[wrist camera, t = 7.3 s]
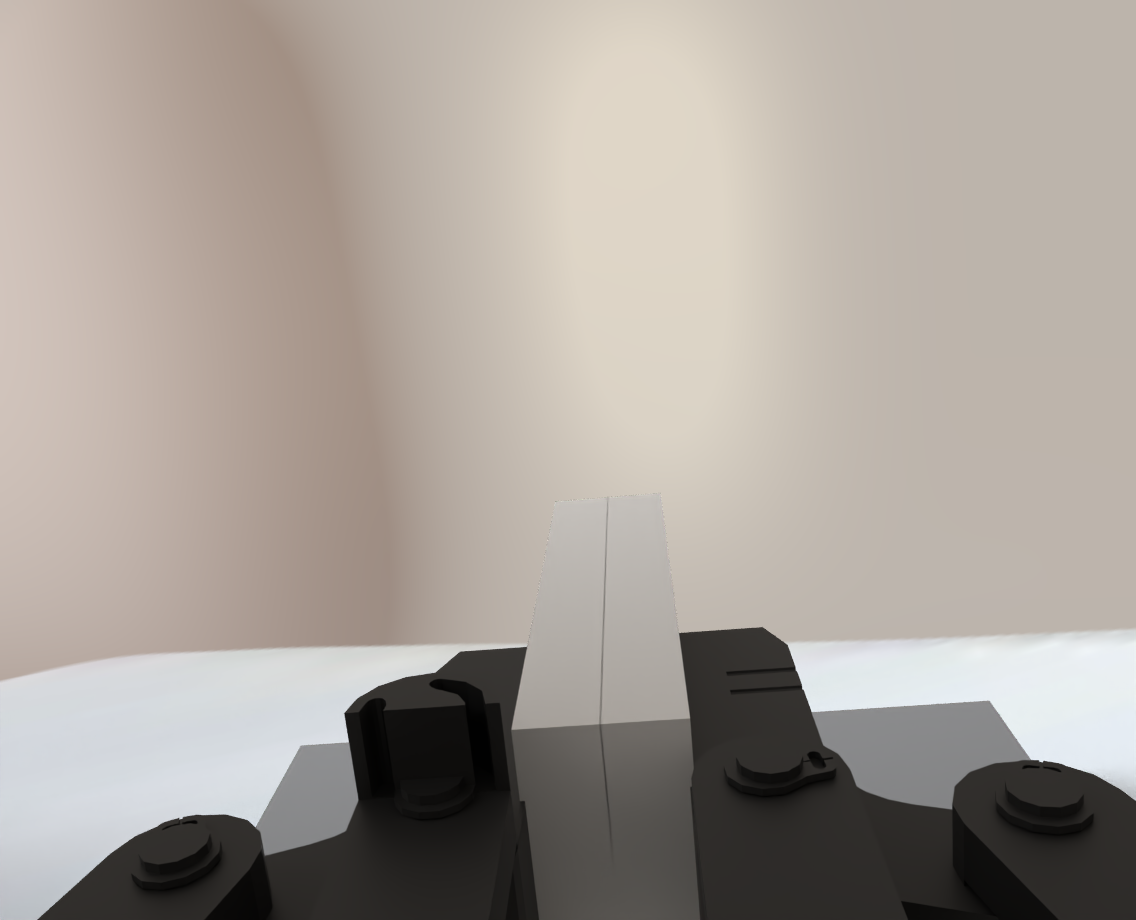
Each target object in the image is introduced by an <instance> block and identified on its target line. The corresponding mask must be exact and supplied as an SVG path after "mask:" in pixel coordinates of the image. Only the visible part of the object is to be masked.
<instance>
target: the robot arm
mask: <svg viewBox="0 0 1136 920" xmlns="http://www.w3.org/2000/svg"><path fill="white" fill-rule="evenodd" d="M344 714H345V720H346V727H347V733H348V739H349V745H350V751H351V757H352V764H353V770H354V776H355V782H356V788H357V794H358V802H357V805H356V807H355V810H354V812H353V815H352V817H351V819H350V822H349V824H348V827H347V829H346V831H345V832H343V833H340V834H338V835H336V836H334V837H331V838H328V839H325V840H322V841H319V842H315V843H312V844H309V845H305V846H301V847H297V848H293V849H289V850H285V851H281V852H277V853H273V854H270V855H266V856H265V854H264V849H263V843H262V838H261V833H260V831H259V830H258V829H257V828H255V827H254V826H253V825H252V824H251V823H250V822H249V821H248V820H245V819H241V818H237V817H233V816H229V815H193V816H187V817H183V819H180V820H179V818H177V819H174V820H170V821H167V822H164V823H162V824H160V825H159V826H158V827H155V828H153V829H151V830H149V831H146V832H144V833H142V834H140V835H137V836H135V837H134V838H132V839H131V840H129V841H128V842H127V843H125V844H124V845H122V846H121V847H119V848H118V849H117V850H115V851H114V852H112V853H111V854H110V855H108V856H107V857H106V858H105V859H104V860H103V861H102V862H101V863H100V864H99V865H97V866H96V867H95V868H94V869H93V870H92V871H91V872H90V873H89V874H87V875H86V876H85V877H84V878H83V879H82V880H81V881H80V882H79V883H77V884H76V885H75V886H74V887H73V888H72V889H71V890H70V891H69V892H68V893H66V894H65V895H64V896H63V897H62V898H61V899H60V900H59V901H58V902H56V903H55V904H54V905H53V906H52V907H51V908H50V909H49V910H48V911H46V912H45V913H44V914H43V915H42V916H41V917H40V918H39V919H38V920H1136V801H1135V800H1134V799H1132V798H1131V797H1130V796H1128V795H1127V794H1126V793H1124V792H1123V791H1122V790H1120V789H1119V788H1117V787H1115V786H1113V785H1111V784H1110V783H1108V782H1106V781H1104V780H1103V779H1101V778H1099V777H1097V776H1096V775H1094V774H1090V773H1087V772H1084V771H1081V770H1077V769H1074V768H1071V767H1067V766H1065V765H1063V764H1059V763H1054V762H1047V761H1043V762H1039V760H1020V761H1015V762H1003V763H994V764H991V765H988V766H985V767H982V768H980V769H977V770H974V771H971V772H969V773H968V774H967V775H966V776H965V777H964V778H963V779H962V780H960V781H959V782H958V783H957V784H956V785H955V787H954V794H953V802H952V809H945V808H938V807H930V806H922V805H915V804H909V803H904V802H899V801H894V800H889V799H886V798H883V797H880V796H877V795H874V794H872V793H869V792H866V791H864V790H862V789H860V788H859V787H857V786H856V783H855V780H854V778H853V775H852V773H851V770H850V768H849V767H848V766H847V764H846V763H845V762H844V760H843V759H842V758H841V757H840V755H839V754H838V753H836V752H834V751H832V750H831V749H829V748H827V747H825V746H823V743H822V740H821V737H820V734H819V732H818V729H817V726H816V723H815V720H814V718H813V715H812V712H811V709H810V706H809V704H808V701H807V698H806V695H805V692H804V690H802V684H801V681H800V678H799V676H798V673H797V671H796V669H795V665H794V662H793V659H792V656H791V653H790V651H789V648H788V645H787V644H785V643H784V642H783V641H781V640H780V639H778V638H777V637H776V636H774V635H773V634H771V633H770V632H768V631H767V630H766V629H764V628H763V627H760V628H745V629H731V630H716V631H702V632H689V633H679V630H678V622H677V615H676V608H675V599H674V593H673V585H672V577H671V569H670V562H669V554H668V546H667V539H666V531H665V523H664V515H663V508H662V500H661V493H656V494H643V495H631V496H617V497H605V498H592V499H580V500H568V501H556V502H555V506H554V511H553V516H552V521H551V526H550V532H549V537H548V542H547V548H546V552H545V558H544V563H543V568H542V573H541V578H540V583H539V589H538V594H537V599H536V604H535V609H534V615H533V620H532V625H531V630H530V635H529V641H528V646H527V647H521V648H507V649H492V650H478V651H464V652H459V653H458V654H457V655H456V656H455V657H453V658H452V659H451V660H450V661H449V662H448V663H446V664H445V665H444V666H443V667H442V668H440V669H439V670H438V671H437V672H436V673H430V674H424V675H417V676H411V677H405V678H402V679H399V680H396V681H393V682H390V683H387V684H384V685H381V686H378V687H377V688H375V689H373V690H371V691H370V692H368V693H366V694H364V695H363V696H361V697H359V698H358V699H356V701H355V702H354V703H353V704H352V705H351V706H350V707H349V708H348V710H347V711H346V712H345V713H344Z"/></svg>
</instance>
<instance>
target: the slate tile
mask: <svg viewBox="0 0 1136 920" xmlns="http://www.w3.org/2000/svg"><path fill="white" fill-rule="evenodd" d="M812 715H813V718H814V720H815V723H816V726H817V729H818V732H819V734H820V737H821V740H822V743H823V746H825V747H827V748H829V749H831V750H832V751H834V752H836V753H838V754H839V755H840V757H841V758H842V759H843V760H844V762H845V763H846V764H847V766H848V767H849V768H850V770H851V773H852V775H853V778H854V780H855V783H856V786H857V787H859V788H860V789H862V790H864V791H866V792H869V793H872V794H874V795H877V796H880V797H883V798H886V799H889V800H894V801H899V802H904V803H909V804H915V805H922V806H930V807H938V808H945V809H952V802H953V794H954V787H955V785H956V784H957V783H958V782H959V781H960V780H962V779H963V778H964V777H965V776H966V775H967V774H968V773H969V772H971V771H974V770H977V769H980V768H982V767H985V766H988V765H991V764H994V763H1003V762H1015V761H1020V760H1031V759H1030V758H1029V756H1028V755H1027V754H1026V752H1025V751H1024V749H1023V748H1022V747H1021V745H1020V744H1019V742H1018V741H1017V739H1016V738H1015V737H1014V735H1013V734H1012V732H1011V731H1010V730H1009V728H1008V727H1007V725H1006V724H1005V722H1004V721H1003V720H1002V718H1001V717H1000V715H999V714H998V712H997V711H996V710H995V708H994V707H993V705H992V704H991V703H990V701H979V702H963V703H948V704H933V705H917V706H902V707H887V708H871V709H856V710H841V711H825V712H812ZM357 802H358V794H357V788H356V782H355V776H354V770H353V764H352V757H351V751H350V745H349V743H334V744H319V745H304V746H300V748H299V750H298V752H297V754H296V755H295V757H294V759H293V761H292V763H291V764H290V766H289V768H288V770H287V772H286V773H285V775H284V777H283V779H282V781H281V783H280V784H279V786H278V788H277V790H276V792H275V793H274V795H273V797H272V799H271V801H270V802H269V804H268V806H267V808H266V810H265V811H264V813H263V815H262V817H261V819H260V820H259V822H258V824H257V826H256V828H257V829H258V830H259V831H260V833H261V838H262V843H263V849H264V854H265V856H266V855H270V854H273V853H277V852H281V851H285V850H289V849H293V848H297V847H301V846H305V845H309V844H312V843H315V842H319V841H322V840H325V839H328V838H331V837H334V836H336V835H338V834H340V833H343V832H345V831H346V829H347V827H348V824H349V822H350V819H351V817H352V815H353V812H354V810H355V807H356V805H357Z"/></svg>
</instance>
